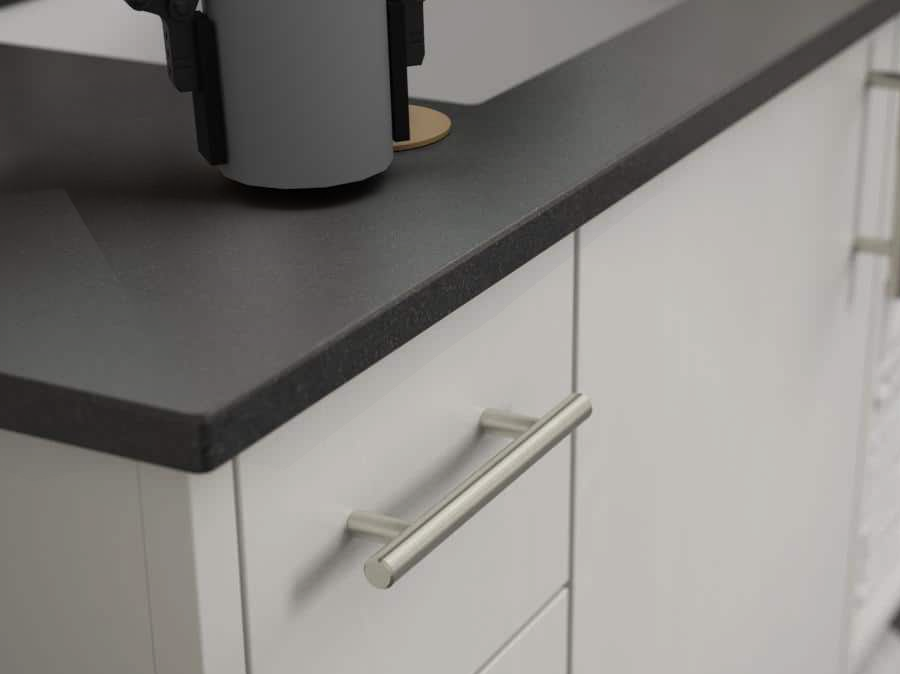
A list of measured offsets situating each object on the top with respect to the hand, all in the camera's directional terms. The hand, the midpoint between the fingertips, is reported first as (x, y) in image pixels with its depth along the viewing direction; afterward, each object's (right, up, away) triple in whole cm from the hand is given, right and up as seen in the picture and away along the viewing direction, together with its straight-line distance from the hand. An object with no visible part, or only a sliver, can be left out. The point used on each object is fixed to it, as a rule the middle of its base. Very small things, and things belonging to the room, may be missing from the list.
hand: (304, 145), depth 79 cm
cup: (0, -1, 0) cm, 1 cm away
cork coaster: (+2, +3, +9) cm, 10 cm away
